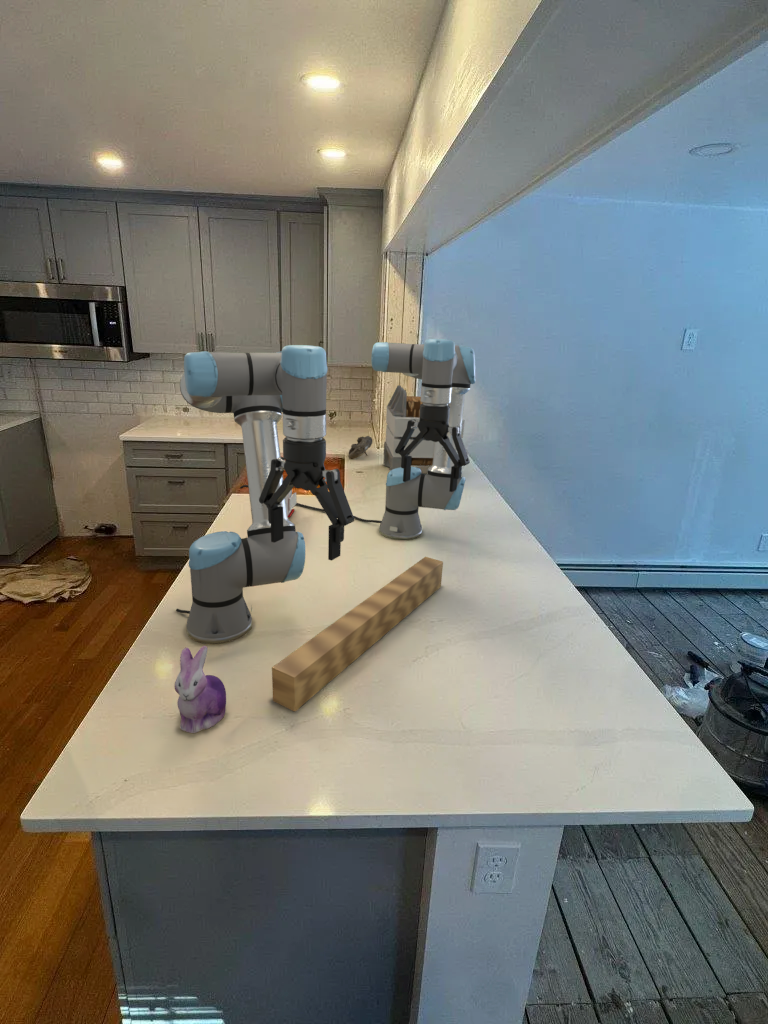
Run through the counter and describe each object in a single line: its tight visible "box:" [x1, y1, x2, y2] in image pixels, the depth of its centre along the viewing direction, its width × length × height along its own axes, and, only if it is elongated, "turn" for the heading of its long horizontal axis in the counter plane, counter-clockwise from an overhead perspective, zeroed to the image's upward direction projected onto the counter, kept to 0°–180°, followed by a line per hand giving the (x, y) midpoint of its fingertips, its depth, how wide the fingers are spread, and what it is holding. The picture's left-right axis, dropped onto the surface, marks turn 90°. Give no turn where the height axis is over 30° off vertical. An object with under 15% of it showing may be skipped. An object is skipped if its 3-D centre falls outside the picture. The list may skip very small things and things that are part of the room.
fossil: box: [347, 435, 373, 460], centre depth 301 cm, size 22×10×15 cm
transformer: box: [383, 384, 465, 472], centre depth 268 cm, size 34×33×41 cm
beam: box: [271, 556, 444, 713], centre depth 137 cm, size 65×6×8 cm, turn 149°
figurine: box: [174, 645, 227, 734], centre depth 105 cm, size 9×10×15 cm
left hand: (305, 548), depth 106 cm, fingers open, 13 cm apart
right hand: (429, 485), depth 148 cm, fingers open, 13 cm apart
